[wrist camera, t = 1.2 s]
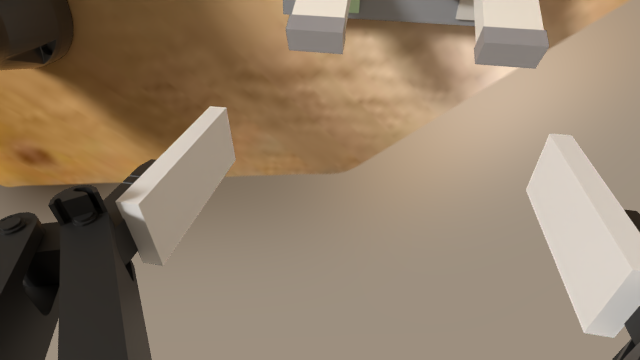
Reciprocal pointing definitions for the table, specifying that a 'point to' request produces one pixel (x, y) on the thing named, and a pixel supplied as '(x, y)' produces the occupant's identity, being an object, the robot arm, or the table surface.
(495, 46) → the lever
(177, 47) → the table surface
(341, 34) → the lever
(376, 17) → the console
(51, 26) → the robot arm
